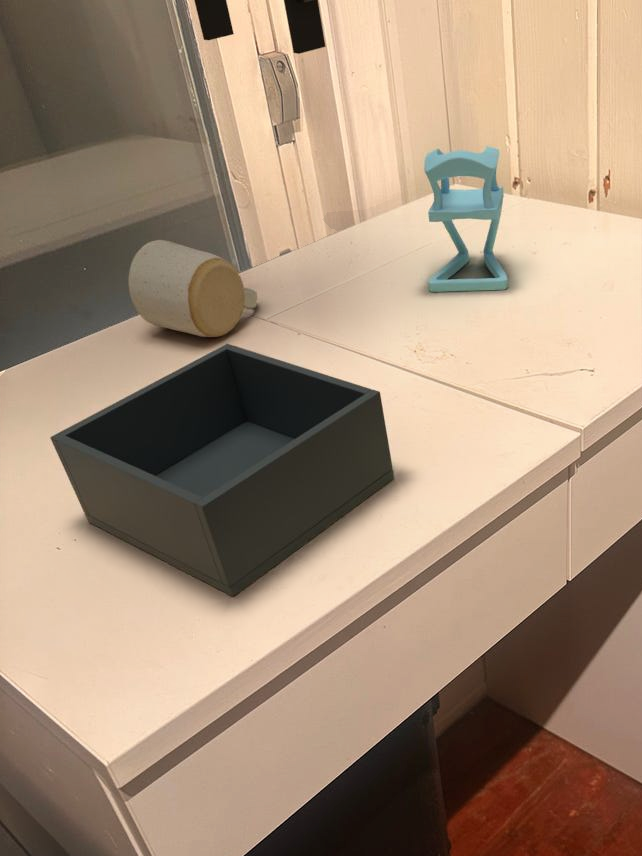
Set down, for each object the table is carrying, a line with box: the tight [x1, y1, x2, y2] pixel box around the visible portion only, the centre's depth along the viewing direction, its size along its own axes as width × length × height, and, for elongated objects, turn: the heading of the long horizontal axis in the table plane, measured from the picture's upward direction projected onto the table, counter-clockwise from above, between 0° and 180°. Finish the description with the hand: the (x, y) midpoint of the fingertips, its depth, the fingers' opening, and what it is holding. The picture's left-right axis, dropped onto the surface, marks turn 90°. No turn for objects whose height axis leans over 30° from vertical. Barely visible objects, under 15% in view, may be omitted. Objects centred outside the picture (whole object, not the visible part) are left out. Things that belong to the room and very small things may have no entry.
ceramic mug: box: [127, 239, 258, 338], centre depth 85 cm, size 11×8×8 cm
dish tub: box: [50, 343, 395, 597], centre depth 62 cm, size 15×15×7 cm
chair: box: [423, 145, 509, 293], centre depth 87 cm, size 8×8×12 cm
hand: (262, 43), depth 78 cm, fingers open, 13 cm apart
